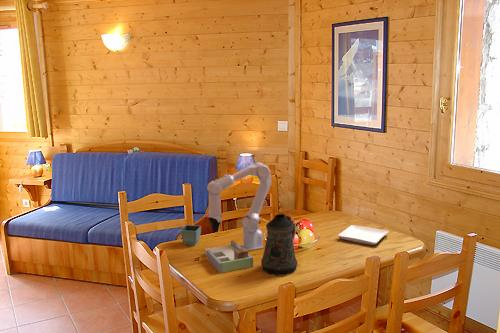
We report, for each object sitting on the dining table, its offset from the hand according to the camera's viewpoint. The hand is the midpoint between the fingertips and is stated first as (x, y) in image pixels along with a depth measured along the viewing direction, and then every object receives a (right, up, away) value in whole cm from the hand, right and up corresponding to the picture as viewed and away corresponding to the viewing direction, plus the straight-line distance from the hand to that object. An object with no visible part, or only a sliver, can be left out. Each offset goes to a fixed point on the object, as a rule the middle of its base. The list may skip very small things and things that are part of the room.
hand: (215, 232), depth 243 cm
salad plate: (+78, -6, +18) cm, 80 cm away
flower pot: (-14, -8, +13) cm, 21 cm away
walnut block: (+13, -11, -16) cm, 23 cm away
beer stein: (+31, -14, -18) cm, 38 cm away
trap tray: (+6, -12, -8) cm, 16 cm away
